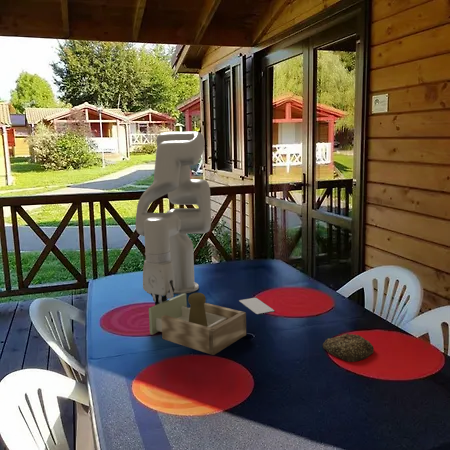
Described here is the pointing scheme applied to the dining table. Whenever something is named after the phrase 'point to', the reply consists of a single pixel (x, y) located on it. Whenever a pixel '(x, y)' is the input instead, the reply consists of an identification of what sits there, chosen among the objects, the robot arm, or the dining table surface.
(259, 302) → the smartphone
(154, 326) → the drawer
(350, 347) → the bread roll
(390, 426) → the dining table surface
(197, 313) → the cork
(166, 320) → the caddy
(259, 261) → the dining table surface
